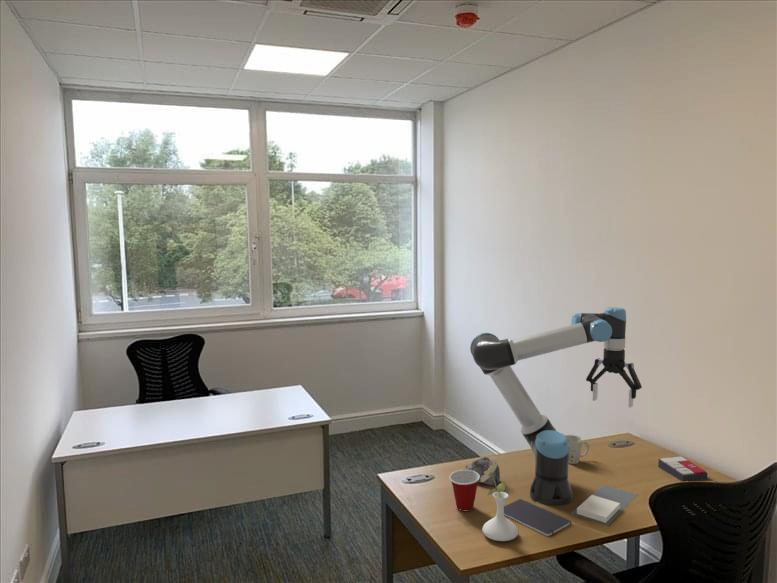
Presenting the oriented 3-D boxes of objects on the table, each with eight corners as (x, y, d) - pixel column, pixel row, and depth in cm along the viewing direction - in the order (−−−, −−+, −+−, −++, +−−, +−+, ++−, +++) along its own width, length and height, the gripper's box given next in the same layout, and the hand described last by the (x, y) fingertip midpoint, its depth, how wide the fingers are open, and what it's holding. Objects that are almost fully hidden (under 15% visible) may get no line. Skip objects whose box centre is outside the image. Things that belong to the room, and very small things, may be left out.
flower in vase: (502, 523, 197) (503, 451, 194) (525, 539, 187) (526, 463, 184) (471, 533, 191) (471, 459, 188) (493, 550, 181) (493, 472, 178)
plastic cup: (443, 503, 211) (443, 471, 210) (470, 498, 215) (470, 467, 214) (457, 517, 201) (457, 484, 200) (485, 511, 205) (485, 479, 204)
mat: (570, 515, 202) (570, 513, 202) (602, 486, 224) (602, 484, 224) (607, 527, 194) (608, 525, 193) (637, 496, 215) (637, 494, 215)
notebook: (571, 525, 196) (520, 502, 213) (571, 520, 196) (520, 498, 212) (548, 538, 188) (497, 513, 205) (548, 533, 188) (497, 509, 204)
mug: (557, 458, 250) (557, 436, 249) (582, 455, 254) (582, 432, 253) (568, 466, 242) (569, 443, 241) (594, 462, 246) (595, 439, 245)
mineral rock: (461, 478, 233) (461, 453, 231) (481, 471, 238) (481, 448, 237) (483, 490, 222) (483, 464, 221) (504, 483, 228) (504, 458, 226)
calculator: (683, 474, 226) (658, 457, 241) (682, 484, 227) (657, 467, 241) (708, 471, 228) (681, 454, 243) (707, 481, 229) (680, 464, 244)
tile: (591, 500, 211) (576, 514, 201) (591, 494, 211) (576, 508, 201) (619, 509, 204) (605, 523, 195) (620, 503, 204) (606, 517, 194)
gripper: (652, 351, 216) (649, 407, 218) (586, 342, 232) (584, 394, 234) (645, 354, 210) (643, 412, 212) (578, 345, 226) (576, 399, 229)
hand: (612, 403), depth 223 cm, fingers open, 13 cm apart
